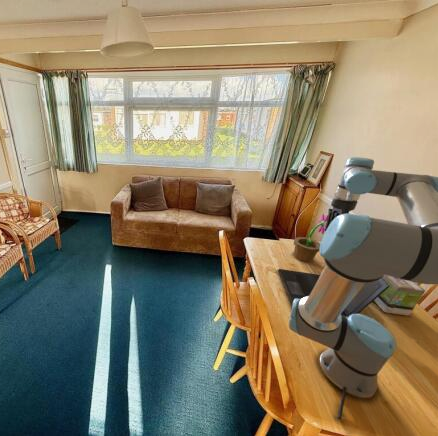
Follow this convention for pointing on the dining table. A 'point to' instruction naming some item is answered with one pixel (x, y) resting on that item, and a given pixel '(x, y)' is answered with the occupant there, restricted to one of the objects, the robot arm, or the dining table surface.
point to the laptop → (299, 284)
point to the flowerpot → (309, 243)
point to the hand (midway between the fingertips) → (325, 248)
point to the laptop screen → (366, 296)
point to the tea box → (399, 296)
